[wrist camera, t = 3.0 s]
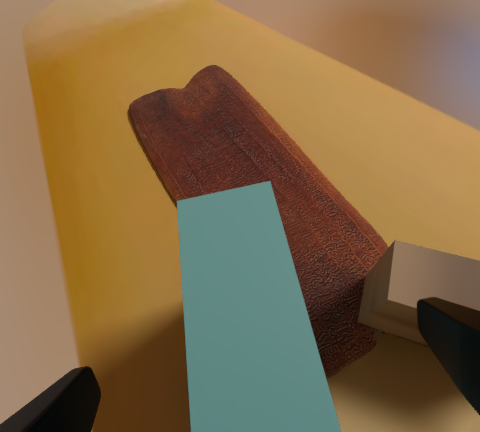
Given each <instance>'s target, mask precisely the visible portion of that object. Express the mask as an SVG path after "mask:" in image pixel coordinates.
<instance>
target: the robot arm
mask: <svg viewBox="0 0 480 432" xmlns="http://www.w3.org/2000/svg"><path fill="white" fill-rule="evenodd" d="M417 322H418V329H419V332H420V334H421V336H422V337H423V339H424V340H425V341H426V343H427V344H428V346H429V347H430V349H431V350H432V352H433V353H434V354H435V356H436V357H437V359H438V360H439V362H440V363H441V365H442V366H443V368H444V369H445V370H446V372H447V373H448V375H449V376H450V378H451V379H452V381H453V382H454V383H455V385H456V386H457V388H458V389H459V390H460V392H461V393H462V394H463V395H464V397H465V398H466V399H467V400H468V402H469V403H470V404H471V405H472V407H473V408H474V409H475V410H476V411H477V413H478V414H479V415H480V311H479V310H475V309H472V308H469V307H466V306H463V305H459V304H456V303H453V302H450V301H447V300H443V299H440V298H437V297H428V298H423V299H419V300H418V301H417ZM100 398H101V391H100V387H99V385H98V382H97V380H96V378H95V375H94V373H93V371H92V369H91V368H90V367H88V366H85V367H80V368H75V369H73V370H71V371H70V372H69V373H67V374H66V375H64V376H63V377H62V378H61V379H59V380H58V381H57V382H55V383H54V384H53V385H51V386H50V387H49V388H47V389H46V390H45V391H44V392H42V393H41V394H40V395H38V396H37V397H36V398H34V399H33V400H32V401H31V402H29V403H28V404H26V405H25V406H24V407H23V408H21V409H20V410H19V411H17V412H16V413H15V414H13V415H12V416H11V417H9V418H8V419H7V420H5V421H4V422H3V423H2V424H0V432H91V430H92V426H93V423H94V419H95V416H96V412H97V409H98V405H99V402H100Z"/></svg>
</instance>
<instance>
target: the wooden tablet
mask: <svg viewBox="0 0 480 432" xmlns="http://www.w3.org/2000/svg"><path fill="white" fill-rule="evenodd" d="M129 112H130V115H131V118H132V120H133V123H134V126H135V129H136V131H137V133H138V135H139V137H140V139H141V141H142V143H143V146H144V148H145V150H146V151H147V153H148V155H149V157H150V159H151V161H152V163H153V165H154V166H155V167H156V170H157V171H158V173H159V175H160V177H161V178H162V180H163V182H164V184H165V185H166V187H167V189H168V191H169V192H170V194H171V195H172V197H173V198H174V200H175V201H176V203H177V201H179V200H184V199H188V198H193V197H198V196H202V195H207V194H212V193H216V192H221V191H225V190H230V189H235V188H239V187H244V186H249V185H253V184H258V183H262V182H267V181H270V182H271V185H272V189H273V193H274V196H275V200H276V203H277V207H278V210H279V214H280V217H281V221H282V224H283V228H284V231H285V235H286V238H287V242H288V245H289V249H290V253H291V256H292V260H293V263H294V267H295V270H296V274H297V277H298V281H299V284H300V288H301V291H302V295H303V298H304V302H305V305H306V309H307V313H308V316H309V320H310V323H311V327H312V330H313V334H314V337H315V341H316V344H317V348H318V351H319V355H320V358H321V362H322V365H323V369H324V373H325V376H326V378H327V377H330V376H332V375H334V374H335V373H336V372H338V371H339V370H340V369H341V368H342V367H343V366H345V365H347V364H349V363H350V362H353V361H355V360H357V359H359V358H361V357H362V356H364V355H366V354H367V353H368V352H370V351H371V350H372V349H373V348H374V347H375V345H376V340H375V337H376V336H377V334H378V333H385V332H384V331H381V330H377V329H375V328H373V327H370V326H367V325H365V324H362V323H359V322H358V317H359V312H360V306H361V300H362V295H363V288H364V282H365V277H366V275H367V274H368V273H369V271H370V270H371V269H372V268H373V266H374V265H375V264H376V263H377V262H378V260H379V259H380V258H381V257H382V255H383V254H384V253H385V252H386V251H387V249H388V248H389V247H388V246H387V244H386V243H385V242H384V240H383V239H382V237H381V236H380V235H379V234H378V233H377V232H376V231H375V229H374V228H373V227H372V226H371V225H370V224H369V222H368V221H367V220H366V219H365V218H364V217H362V216H361V215H360V213H359V212H358V211H357V210H356V209H355V208H354V207H353V206H352V205H351V204H350V203H349V202H348V201H347V200H346V199H345V198H344V197H343V195H342V194H341V193H340V192H339V191H338V190H337V189H336V188H335V187H334V186H333V185H332V183H331V182H330V181H329V180H328V179H327V178H326V177H325V176H324V175H323V173H322V172H321V171H320V170H319V169H318V168H317V167H316V165H315V164H313V162H312V161H311V160H310V159H309V158H308V157H307V156H306V155H305V154H304V152H303V151H302V150H301V149H300V147H299V146H298V145H297V144H296V143H295V142H294V141H293V140H292V139H291V138H290V137H289V135H288V134H287V133H286V132H285V131H284V130H283V128H282V127H281V126H280V125H279V124H278V123H277V122H276V121H275V120H274V119H273V117H272V116H271V115H270V114H269V113H268V112H267V111H266V110H265V109H264V108H263V107H262V106H261V105H260V103H259V102H258V101H257V100H255V99H254V98H253V97H252V96H251V95H250V93H249V92H247V91H246V89H244V87H243V86H242V85H241V84H240V83H239V82H238V81H237V80H236V79H235V78H233V77H232V75H230V74H229V73H228V72H227V71H225V70H224V69H222V68H221V67H219V66H216V65H210V66H207V67H205V68H204V69H202V70H200V71H199V72H198V73H196V75H194V76H193V78H192V79H191V80H190V82H189V83H188V84H187V85H186V86H185V88H183V89H175V88H168V89H162V90H157V91H155V92H152V93H149V94H146V95H144V96H142V97H140V98H138V99H136V100H134V101H133V102H132V103H131V104H130V106H129Z"/></svg>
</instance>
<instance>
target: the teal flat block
mask: <svg viewBox="0 0 480 432" xmlns="http://www.w3.org/2000/svg"><path fill="white" fill-rule="evenodd" d="M177 212H178V228H179V244H180V261H181V277H182V293H183V310H184V326H185V342H186V359H187V375H188V391H189V407H190V424H191V432H341V429H340V425H339V422H338V418H337V415H336V411H335V408H334V404H333V401H332V397H331V394H330V390H329V387H328V383H327V380H326V376H325V373H324V369H323V365H322V362H321V358H320V355H319V351H318V348H317V344H316V341H315V337H314V334H313V330H312V327H311V323H310V320H309V316H308V313H307V309H306V305H305V302H304V298H303V295H302V291H301V288H300V284H299V281H298V277H297V274H296V270H295V267H294V263H293V260H292V256H291V253H290V249H289V245H288V242H287V238H286V235H285V231H284V228H283V224H282V221H281V217H280V214H279V210H278V207H277V203H276V200H275V196H274V193H273V189H272V185H271V182H270V181H267V182H262V183H258V184H253V185H249V186H244V187H239V188H235V189H230V190H225V191H221V192H216V193H212V194H207V195H202V196H198V197H193V198H188V199H184V200H179V201H177Z"/></svg>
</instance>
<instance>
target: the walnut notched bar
mask: <svg viewBox="0 0 480 432" xmlns="http://www.w3.org/2000/svg"><path fill="white" fill-rule="evenodd" d="M428 297H437V298H440V299H443V300H447V301H450V302H453V303H456V304H459V305H463V306H466V307H469V308H472V309H475V310H479V311H480V261H478V260H474V259H470V258H466V257H462V256H457V255H453V254H449V253H445V252H441V251H437V250H433V249H429V248H425V247H421V246H416V245H412V244H408V243H404V242H400V241H396V240H395V241H394V242H393V243H392V244H391V246H390V247H389V248H388V249H387V251H386V252H385V253H384V254H383V255H382V257H381V258H380V259H379V260H378V262H377V263H376V264H375V265H374V266H373V268H372V269H371V270H370V271H369V273H368V274H367V275H366V277H365V282H364V288H363V295H362V300H361V306H360V312H359V317H358V322H359V323H362V324H365V325H367V326H370V327H373V328H375V329H377V330H381V331H384V332H387V333H390V334H393V335H396V336H399V337H402V338H405V339H408V340H411V341H414V342H417V343H420V344H423V345H426V346H428V344H427V343H426V341H425V340H424V339H423V337H422V336H421V334H420V332H419V329H418V322H417V301H418V300H419V299H423V298H428Z"/></svg>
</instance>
